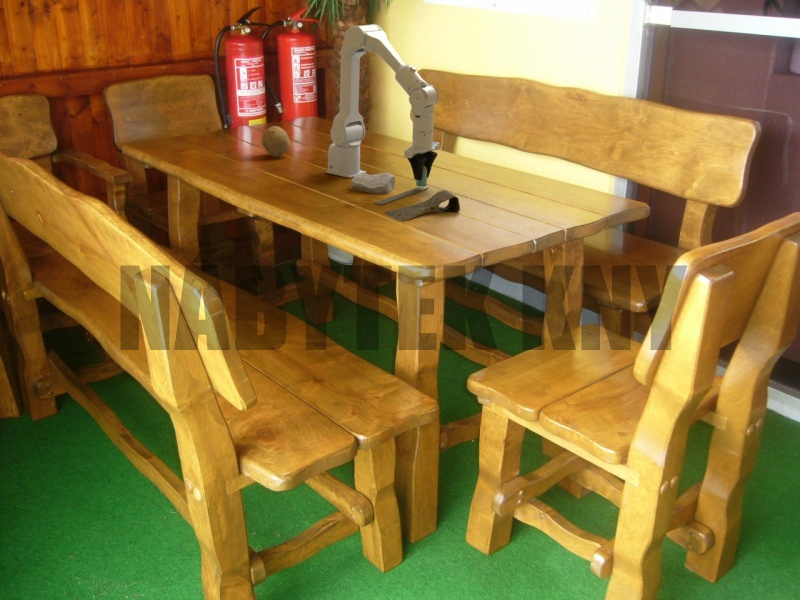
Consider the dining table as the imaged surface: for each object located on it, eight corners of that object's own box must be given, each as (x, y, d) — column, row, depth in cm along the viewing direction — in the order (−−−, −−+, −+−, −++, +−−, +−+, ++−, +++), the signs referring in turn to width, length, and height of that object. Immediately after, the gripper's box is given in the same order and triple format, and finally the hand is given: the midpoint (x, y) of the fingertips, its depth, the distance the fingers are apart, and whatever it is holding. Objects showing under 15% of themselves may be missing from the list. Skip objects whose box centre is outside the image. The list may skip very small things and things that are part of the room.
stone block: (389, 201, 230) (396, 185, 238) (388, 185, 227) (395, 170, 235) (348, 199, 233) (357, 183, 241) (346, 184, 230) (355, 168, 238)
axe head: (392, 217, 204) (376, 206, 212) (395, 236, 206) (379, 224, 215) (465, 196, 211) (447, 186, 219) (467, 214, 213) (449, 204, 221)
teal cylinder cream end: (414, 185, 234) (414, 166, 232) (420, 183, 236) (420, 164, 234) (422, 187, 232) (423, 168, 230) (428, 185, 235) (429, 166, 232)
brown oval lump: (260, 154, 271) (259, 123, 267) (287, 153, 273) (286, 122, 269) (264, 160, 263) (263, 129, 259) (292, 159, 265) (291, 128, 261)
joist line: (374, 203, 220) (374, 202, 220) (421, 187, 237) (421, 185, 237) (382, 205, 219) (382, 203, 219) (428, 188, 236) (428, 187, 235)
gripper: (419, 136, 221) (418, 186, 226) (449, 128, 231) (447, 175, 237) (398, 133, 224) (397, 181, 230) (428, 125, 235) (427, 171, 241)
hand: (421, 178), depth 234 cm, fingers closed on teal cylinder cream end, 3 cm apart
